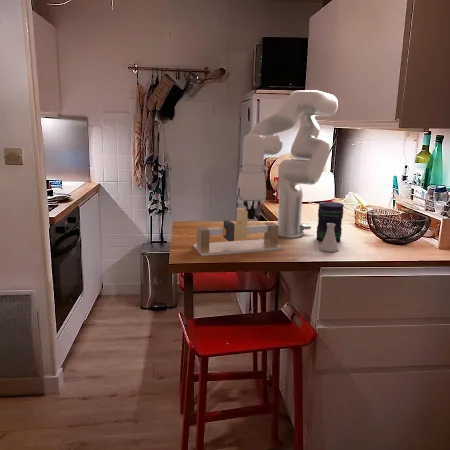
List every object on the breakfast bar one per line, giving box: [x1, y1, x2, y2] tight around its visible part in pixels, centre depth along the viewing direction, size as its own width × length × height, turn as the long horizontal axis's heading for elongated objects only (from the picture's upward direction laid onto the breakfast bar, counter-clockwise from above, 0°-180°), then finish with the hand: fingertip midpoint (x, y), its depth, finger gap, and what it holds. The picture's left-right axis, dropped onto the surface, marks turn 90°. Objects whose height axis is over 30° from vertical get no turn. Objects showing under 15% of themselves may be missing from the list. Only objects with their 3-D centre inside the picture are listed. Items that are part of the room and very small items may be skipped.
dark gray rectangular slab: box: [222, 219, 235, 242], centre depth 163 cm, size 2×6×6 cm, turn 18°
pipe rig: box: [193, 221, 283, 257], centre depth 165 cm, size 31×12×8 cm, turn 108°
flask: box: [319, 223, 339, 253], centre depth 166 cm, size 7×7×10 cm
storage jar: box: [315, 201, 345, 244], centre depth 178 cm, size 10×10×15 cm
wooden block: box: [230, 207, 248, 241], centre depth 163 cm, size 5×6×11 cm
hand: (250, 218), depth 164 cm, fingers closed
